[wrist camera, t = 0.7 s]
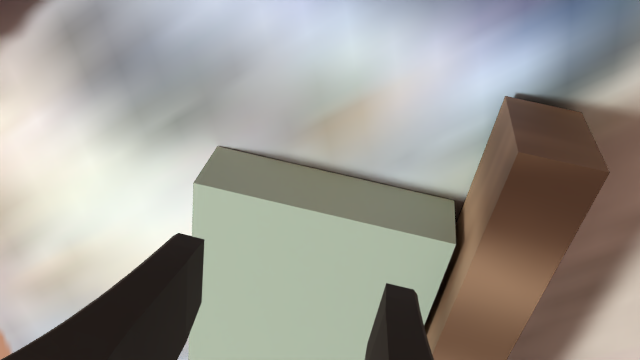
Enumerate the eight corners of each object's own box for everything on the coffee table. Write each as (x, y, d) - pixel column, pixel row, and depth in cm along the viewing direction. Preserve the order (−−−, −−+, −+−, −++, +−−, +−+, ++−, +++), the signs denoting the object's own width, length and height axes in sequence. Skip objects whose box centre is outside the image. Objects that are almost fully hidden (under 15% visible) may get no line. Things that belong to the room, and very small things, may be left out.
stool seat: (392, 368, 26) (388, 416, 24) (207, 322, 27) (188, 365, 25) (454, 200, 20) (456, 244, 18) (217, 146, 21) (193, 182, 19)
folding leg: (440, 406, 27) (440, 485, 23) (391, 393, 27) (384, 470, 24) (581, 111, 17) (612, 177, 14) (505, 95, 18) (519, 156, 14)
